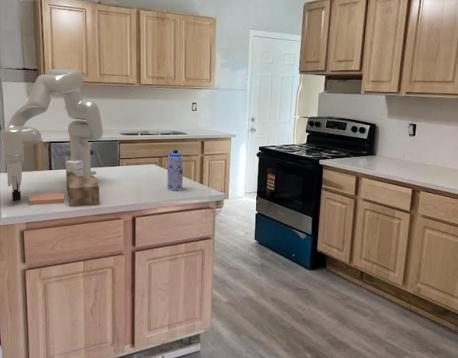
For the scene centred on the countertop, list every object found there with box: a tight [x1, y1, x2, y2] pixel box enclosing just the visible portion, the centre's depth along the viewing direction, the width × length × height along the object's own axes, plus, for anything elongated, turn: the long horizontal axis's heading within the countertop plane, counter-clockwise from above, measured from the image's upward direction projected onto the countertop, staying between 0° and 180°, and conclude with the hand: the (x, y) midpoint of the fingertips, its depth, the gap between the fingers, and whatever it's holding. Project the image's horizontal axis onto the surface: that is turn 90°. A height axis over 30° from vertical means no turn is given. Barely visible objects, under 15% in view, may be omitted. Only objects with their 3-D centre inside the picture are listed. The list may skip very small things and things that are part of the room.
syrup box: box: [65, 159, 83, 192], centre depth 212 cm, size 6×6×14 cm
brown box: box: [66, 175, 100, 207], centre depth 199 cm, size 12×22×8 cm, turn 22°
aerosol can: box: [166, 149, 184, 192], centre depth 223 cm, size 8×8×20 cm
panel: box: [28, 192, 65, 206], centre depth 194 cm, size 14×10×2 cm
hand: (16, 200), depth 190 cm, fingers closed
